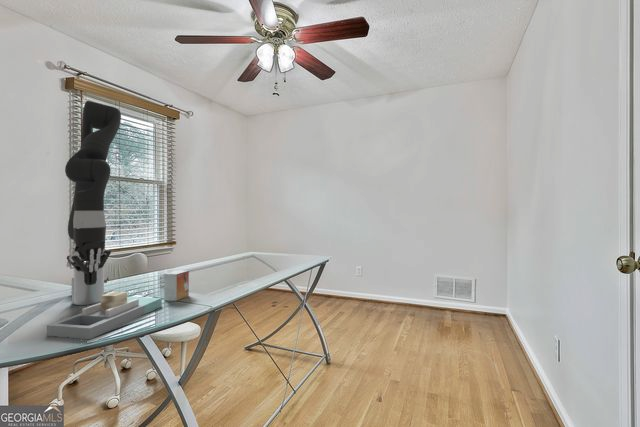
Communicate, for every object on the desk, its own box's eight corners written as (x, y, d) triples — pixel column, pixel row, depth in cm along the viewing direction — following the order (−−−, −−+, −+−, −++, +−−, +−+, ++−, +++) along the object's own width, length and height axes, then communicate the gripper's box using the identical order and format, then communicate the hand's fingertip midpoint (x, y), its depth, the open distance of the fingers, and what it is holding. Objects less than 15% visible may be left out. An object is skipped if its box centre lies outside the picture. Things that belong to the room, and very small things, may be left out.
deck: (46, 335, 85) (46, 318, 85) (127, 304, 114) (127, 291, 114) (90, 339, 83) (90, 321, 83) (161, 306, 112) (161, 292, 112)
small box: (176, 301, 118) (176, 274, 118) (163, 300, 119) (163, 273, 119) (189, 295, 126) (189, 270, 125) (177, 295, 127) (177, 269, 127)
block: (101, 311, 97) (100, 295, 97) (113, 306, 102) (113, 291, 102) (114, 311, 97) (114, 296, 97) (127, 306, 102) (127, 291, 101)
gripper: (97, 225, 98) (98, 279, 98) (56, 227, 85) (57, 289, 85) (118, 225, 97) (119, 279, 97) (80, 227, 83) (81, 290, 83)
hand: (90, 284), depth 91 cm, fingers closed
